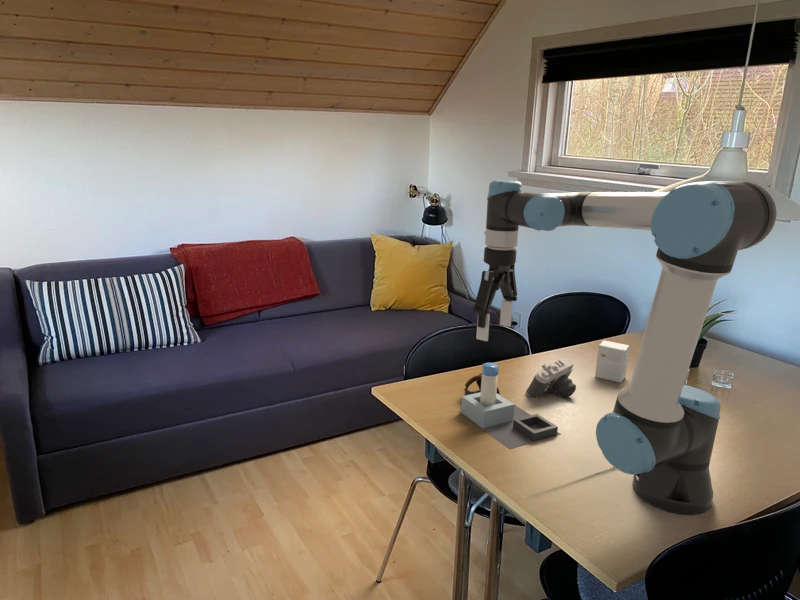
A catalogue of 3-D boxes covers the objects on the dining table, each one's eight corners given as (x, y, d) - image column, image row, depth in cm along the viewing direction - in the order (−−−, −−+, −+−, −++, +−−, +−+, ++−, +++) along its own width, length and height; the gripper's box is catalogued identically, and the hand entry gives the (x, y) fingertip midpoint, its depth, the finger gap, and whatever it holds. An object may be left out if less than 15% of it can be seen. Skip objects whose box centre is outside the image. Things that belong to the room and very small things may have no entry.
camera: (520, 391, 166) (535, 365, 160) (554, 375, 176) (569, 350, 170) (545, 414, 161) (561, 388, 155) (577, 396, 171) (594, 371, 165)
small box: (625, 377, 181) (630, 345, 178) (621, 383, 177) (626, 350, 174) (599, 371, 185) (603, 339, 183) (594, 377, 181) (598, 344, 178)
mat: (561, 437, 144) (561, 434, 144) (509, 452, 136) (509, 449, 136) (506, 402, 162) (506, 399, 161) (458, 413, 154) (458, 411, 154)
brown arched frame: (505, 410, 158) (494, 388, 154) (472, 421, 160) (460, 400, 157) (500, 382, 168) (489, 361, 165) (469, 392, 171) (458, 372, 167)
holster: (556, 435, 143) (557, 426, 143) (533, 441, 140) (534, 433, 139) (536, 421, 150) (537, 413, 149) (512, 427, 146) (513, 419, 146)
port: (513, 420, 150) (514, 404, 149) (482, 428, 145) (484, 411, 144) (490, 405, 158) (491, 389, 157) (460, 412, 153) (461, 396, 152)
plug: (497, 418, 151) (502, 367, 147) (485, 421, 149) (489, 369, 145) (488, 411, 154) (492, 361, 150) (475, 414, 152) (479, 364, 148)
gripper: (506, 238, 151) (500, 317, 157) (462, 252, 131) (456, 342, 137) (534, 242, 147) (527, 322, 153) (493, 257, 127) (486, 349, 133)
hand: (494, 332), depth 145 cm, fingers open, 13 cm apart
